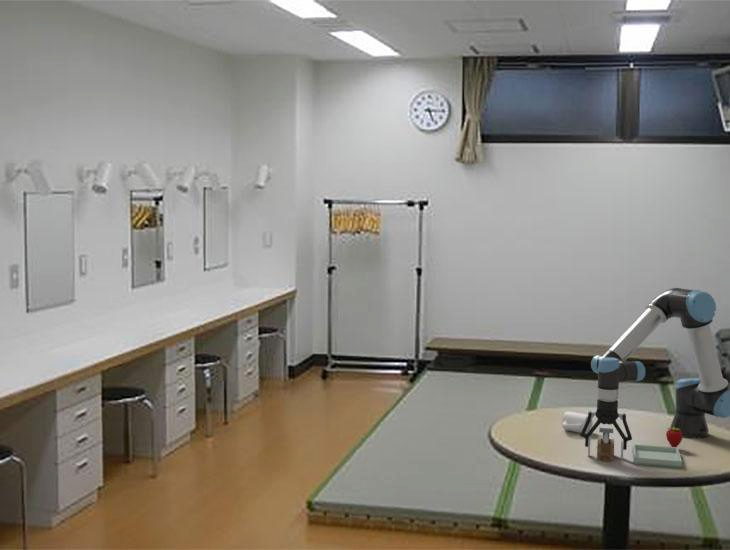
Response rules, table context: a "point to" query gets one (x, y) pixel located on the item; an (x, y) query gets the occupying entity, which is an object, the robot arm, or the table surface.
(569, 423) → the mug
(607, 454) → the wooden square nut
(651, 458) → the tray
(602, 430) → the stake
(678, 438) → the strawberry
